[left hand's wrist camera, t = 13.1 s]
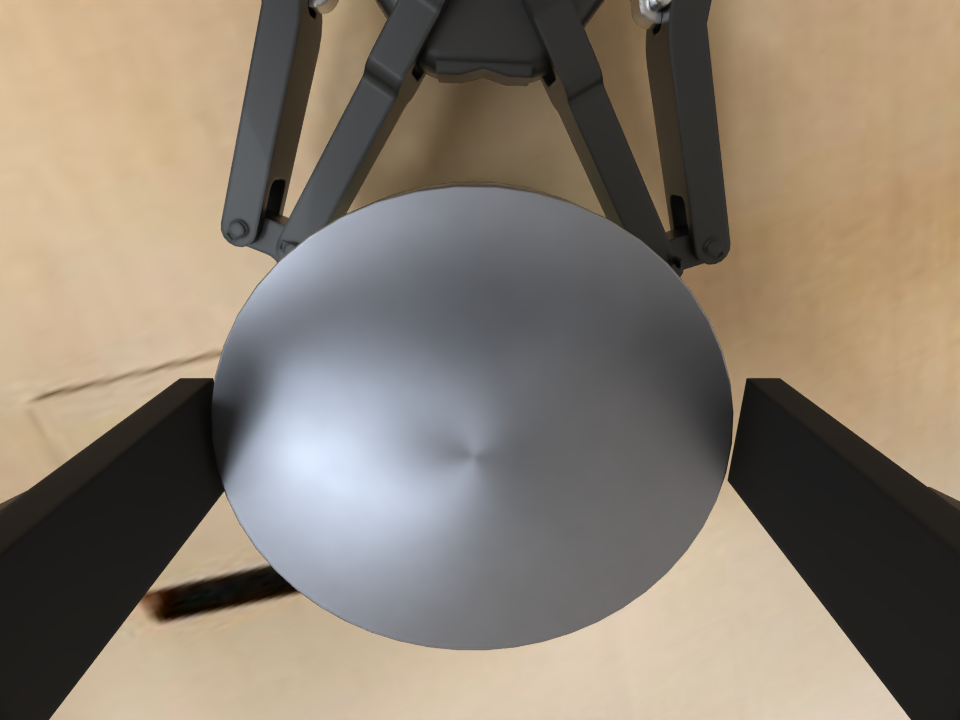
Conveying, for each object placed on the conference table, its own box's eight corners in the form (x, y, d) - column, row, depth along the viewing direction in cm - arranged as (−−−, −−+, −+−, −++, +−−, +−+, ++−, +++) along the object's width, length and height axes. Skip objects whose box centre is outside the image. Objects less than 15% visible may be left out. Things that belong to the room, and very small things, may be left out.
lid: (155, 313, 13) (97, 341, 11) (600, 85, 11) (627, 69, 9) (386, 639, 17) (374, 705, 15) (749, 501, 15) (792, 554, 13)
